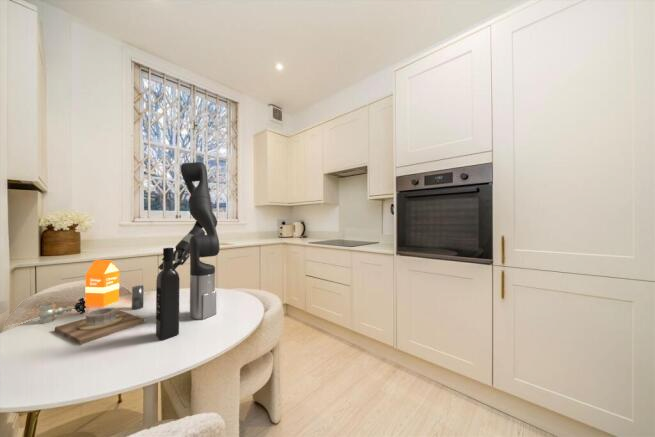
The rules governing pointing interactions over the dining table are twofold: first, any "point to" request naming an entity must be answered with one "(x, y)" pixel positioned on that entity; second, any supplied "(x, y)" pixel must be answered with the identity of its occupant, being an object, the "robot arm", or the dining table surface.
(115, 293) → the orange juice
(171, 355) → the dining table surface
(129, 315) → the socket fitting
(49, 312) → the valve
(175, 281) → the wine bottle
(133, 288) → the grey metal cylinder
